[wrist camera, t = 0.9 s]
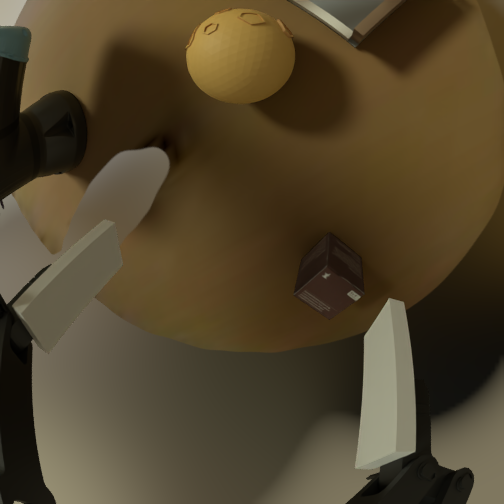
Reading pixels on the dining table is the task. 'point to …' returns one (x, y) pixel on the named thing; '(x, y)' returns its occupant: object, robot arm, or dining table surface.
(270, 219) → the dining table surface
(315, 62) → the dining table surface
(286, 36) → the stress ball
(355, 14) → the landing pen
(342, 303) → the box
